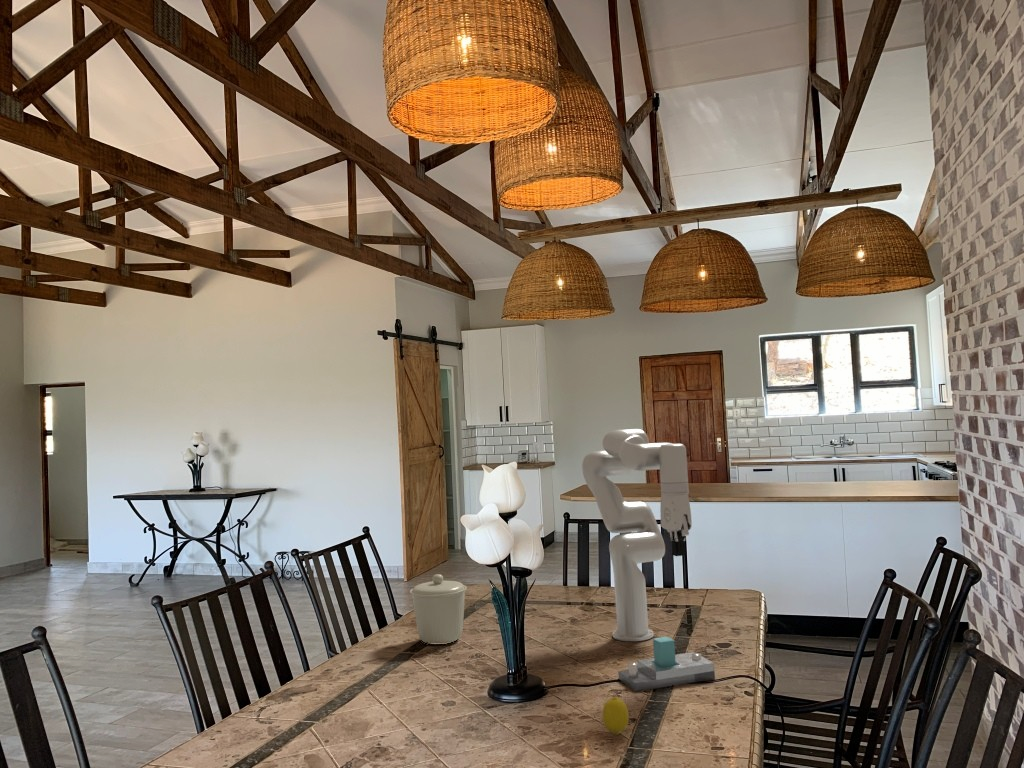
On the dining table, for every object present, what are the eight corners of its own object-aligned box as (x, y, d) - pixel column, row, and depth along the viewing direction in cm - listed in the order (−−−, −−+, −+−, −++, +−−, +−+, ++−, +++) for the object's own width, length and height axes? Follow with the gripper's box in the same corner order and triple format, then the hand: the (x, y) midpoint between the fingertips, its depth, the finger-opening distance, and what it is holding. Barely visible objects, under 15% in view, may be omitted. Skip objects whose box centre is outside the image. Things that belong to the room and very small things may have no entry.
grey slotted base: (618, 678, 207) (617, 659, 207) (694, 667, 213) (693, 648, 213) (635, 691, 197) (634, 671, 197) (714, 678, 203) (713, 658, 203)
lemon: (601, 730, 173) (599, 693, 174) (626, 728, 174) (624, 691, 174) (606, 741, 168) (604, 702, 168) (632, 738, 168) (630, 700, 169)
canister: (473, 632, 260) (469, 567, 261) (464, 648, 243) (460, 579, 243) (419, 634, 262) (415, 569, 263) (406, 650, 244) (403, 581, 245)
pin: (655, 677, 206) (653, 638, 207) (669, 675, 208) (666, 636, 208) (662, 682, 203) (660, 642, 203) (676, 679, 204) (674, 640, 204)
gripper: (650, 487, 226) (654, 552, 225) (675, 491, 211) (679, 561, 211) (674, 485, 228) (678, 550, 227) (700, 489, 214) (704, 558, 213)
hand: (679, 555), depth 219 cm, fingers closed
